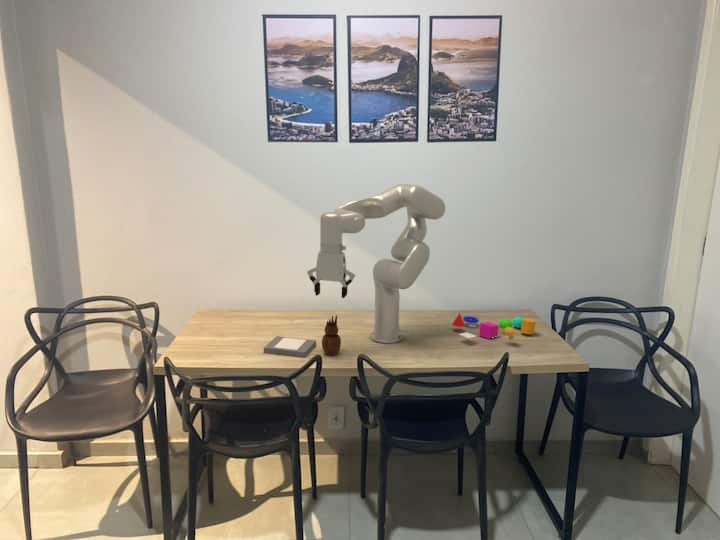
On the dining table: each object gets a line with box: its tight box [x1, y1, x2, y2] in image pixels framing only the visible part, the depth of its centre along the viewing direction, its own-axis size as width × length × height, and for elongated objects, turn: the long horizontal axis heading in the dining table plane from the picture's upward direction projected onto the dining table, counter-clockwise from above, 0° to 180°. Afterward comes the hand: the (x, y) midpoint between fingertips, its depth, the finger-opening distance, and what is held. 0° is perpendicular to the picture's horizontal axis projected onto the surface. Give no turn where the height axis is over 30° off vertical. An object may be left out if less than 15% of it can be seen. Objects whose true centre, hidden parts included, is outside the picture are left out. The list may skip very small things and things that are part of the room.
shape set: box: [451, 313, 537, 341], centre depth 211 cm, size 29×35×7 cm
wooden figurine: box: [321, 314, 342, 356], centre depth 189 cm, size 7×6×15 cm
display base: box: [263, 335, 317, 359], centre depth 194 cm, size 16×12×2 cm
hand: (330, 295), depth 185 cm, fingers open, 9 cm apart
